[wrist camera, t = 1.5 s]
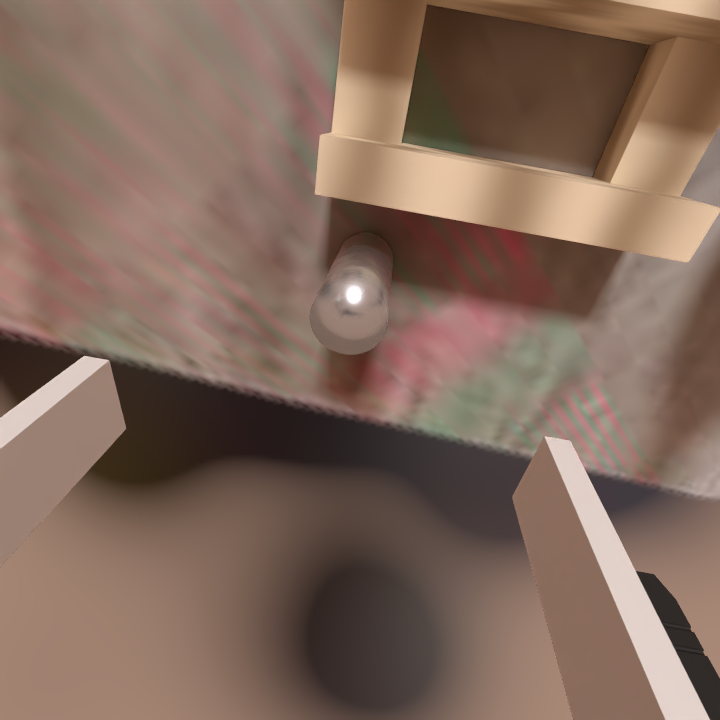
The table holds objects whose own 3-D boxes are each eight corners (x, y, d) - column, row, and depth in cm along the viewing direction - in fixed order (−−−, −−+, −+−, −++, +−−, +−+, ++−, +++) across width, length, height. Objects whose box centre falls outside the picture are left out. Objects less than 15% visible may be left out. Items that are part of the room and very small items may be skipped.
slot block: (333, 178, 26) (314, 194, 21) (360, -84, 19) (344, -155, 14) (632, 233, 26) (688, 262, 21) (760, -12, 19) (887, -57, 14)
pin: (335, 281, 30) (306, 347, 21) (342, 227, 27) (313, 277, 19) (387, 290, 30) (379, 360, 21) (398, 237, 27) (394, 292, 19)
